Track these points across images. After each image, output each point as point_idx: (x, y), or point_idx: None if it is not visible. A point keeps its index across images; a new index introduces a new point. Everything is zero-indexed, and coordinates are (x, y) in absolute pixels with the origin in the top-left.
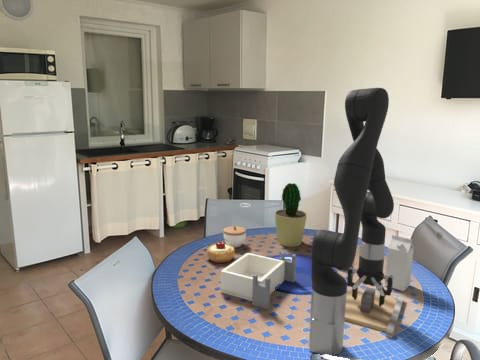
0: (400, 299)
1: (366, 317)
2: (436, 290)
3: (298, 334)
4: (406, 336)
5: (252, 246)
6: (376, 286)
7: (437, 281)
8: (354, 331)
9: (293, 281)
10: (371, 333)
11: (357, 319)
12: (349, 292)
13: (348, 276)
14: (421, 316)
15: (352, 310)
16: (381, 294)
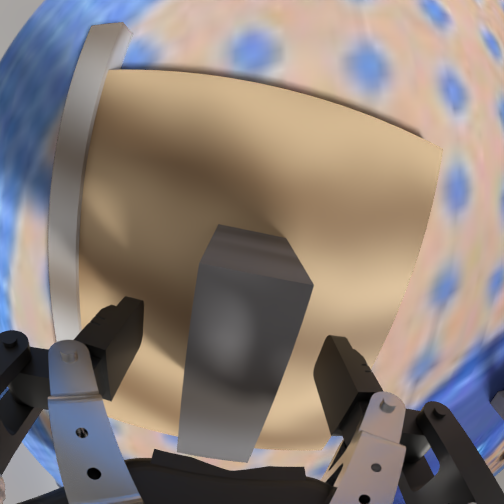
0: None
1: (240, 157)
2: (42, 455)
3: (496, 20)
4: (39, 91)
5: (492, 465)
6: (97, 434)
7: (61, 482)
8: (313, 22)
9: (499, 393)
10: (210, 27)
11: (307, 109)
12: None
13: (483, 471)
14: (4, 310)
15: (342, 234)
16: (79, 352)
